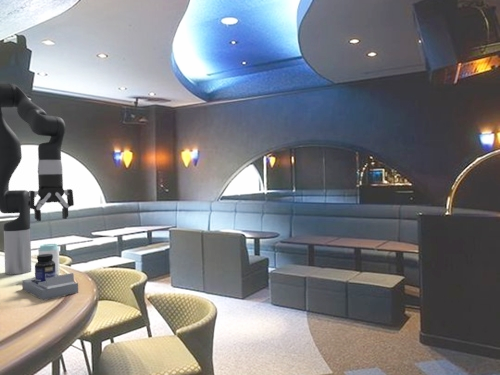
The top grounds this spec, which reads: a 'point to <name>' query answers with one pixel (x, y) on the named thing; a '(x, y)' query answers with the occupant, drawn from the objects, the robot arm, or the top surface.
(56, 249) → the can
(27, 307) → the top surface
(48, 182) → the robot arm
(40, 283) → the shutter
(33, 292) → the socket plate
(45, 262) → the pill bottle
